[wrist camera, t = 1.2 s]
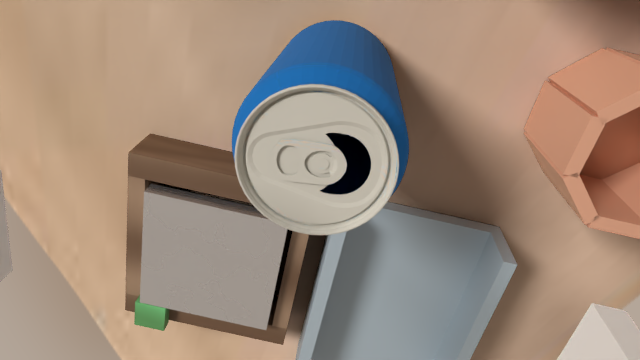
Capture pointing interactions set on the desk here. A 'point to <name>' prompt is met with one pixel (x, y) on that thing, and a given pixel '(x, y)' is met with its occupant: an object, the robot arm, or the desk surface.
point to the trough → (406, 288)
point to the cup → (593, 138)
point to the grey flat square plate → (209, 256)
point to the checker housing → (208, 177)
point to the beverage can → (323, 132)
